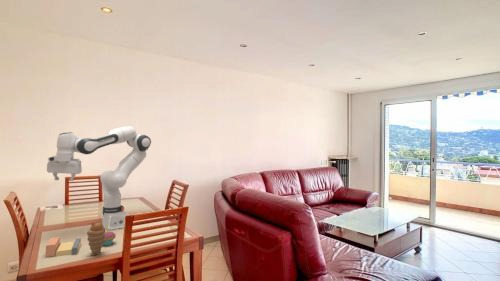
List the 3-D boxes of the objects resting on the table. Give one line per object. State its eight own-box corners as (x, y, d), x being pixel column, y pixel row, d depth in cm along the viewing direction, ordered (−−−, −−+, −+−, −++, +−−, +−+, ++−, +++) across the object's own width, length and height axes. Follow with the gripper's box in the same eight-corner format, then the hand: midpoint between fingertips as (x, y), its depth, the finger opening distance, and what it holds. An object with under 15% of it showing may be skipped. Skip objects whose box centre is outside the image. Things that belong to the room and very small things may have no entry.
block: (59, 247, 151) (60, 236, 151) (54, 255, 140) (55, 244, 140) (51, 248, 149) (51, 237, 149) (45, 257, 138) (45, 245, 138)
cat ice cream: (102, 249, 150) (103, 218, 150) (107, 254, 145) (108, 221, 145) (84, 254, 143) (85, 221, 143) (89, 259, 138) (90, 224, 138)
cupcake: (97, 243, 158) (98, 223, 158) (112, 240, 164) (113, 221, 164) (101, 248, 152) (102, 227, 152) (117, 244, 158) (118, 224, 158)
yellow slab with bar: (81, 244, 156) (81, 237, 156) (77, 254, 143) (77, 247, 143) (60, 246, 152) (60, 240, 152) (54, 257, 139) (55, 250, 139)
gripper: (84, 158, 167) (83, 180, 167) (53, 157, 168) (52, 179, 168) (77, 159, 161) (76, 182, 161) (45, 157, 162) (44, 180, 162)
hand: (64, 180), depth 164 cm, fingers open, 8 cm apart
